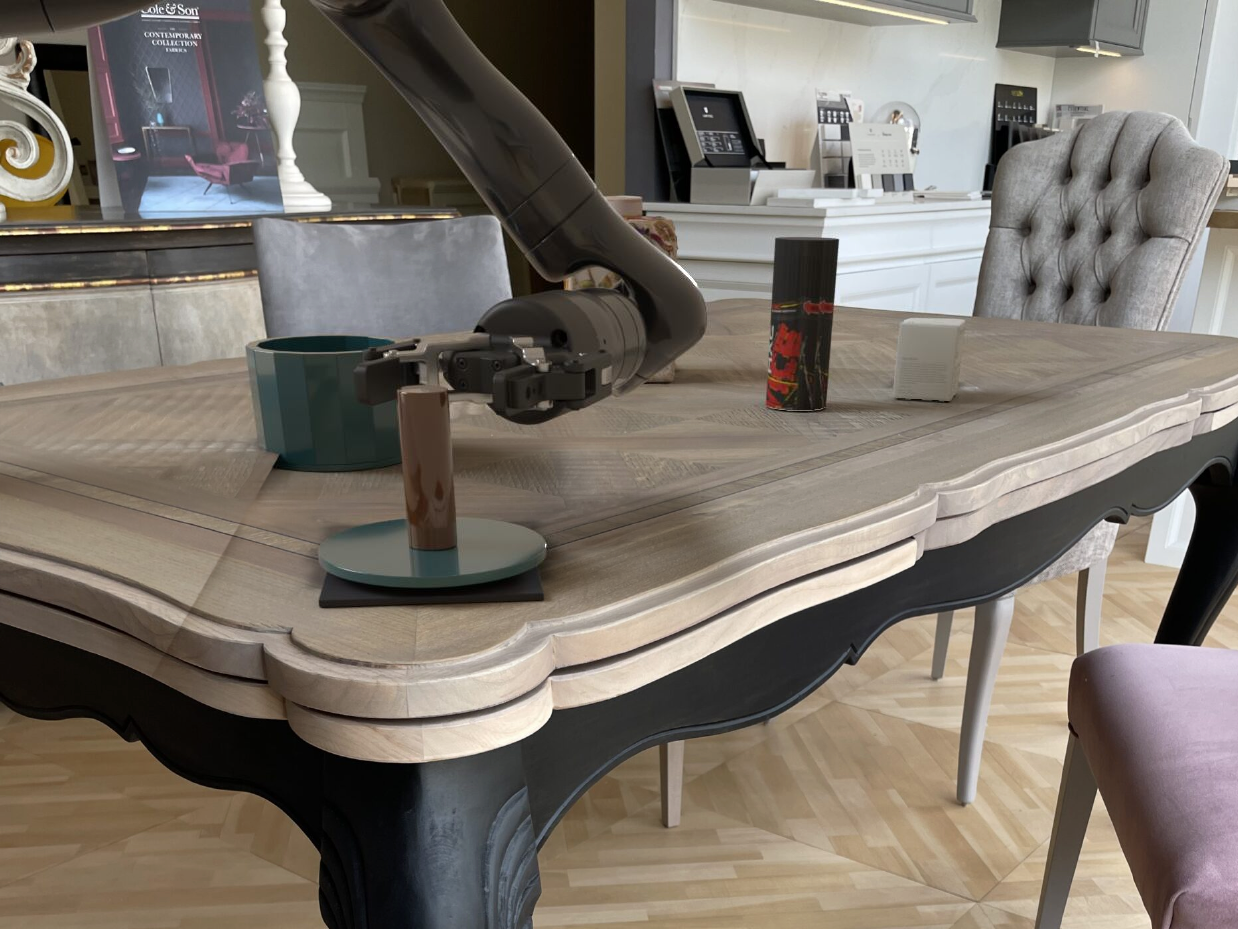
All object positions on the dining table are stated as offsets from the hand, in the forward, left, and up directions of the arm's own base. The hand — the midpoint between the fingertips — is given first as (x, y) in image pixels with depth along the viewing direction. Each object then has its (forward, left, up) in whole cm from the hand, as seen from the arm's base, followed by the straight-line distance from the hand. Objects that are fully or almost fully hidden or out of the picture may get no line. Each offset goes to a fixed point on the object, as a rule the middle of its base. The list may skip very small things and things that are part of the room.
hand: (429, 391), depth 68 cm
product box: (+50, +58, -10) cm, 77 cm away
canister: (-8, +33, -10) cm, 36 cm away
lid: (0, -1, -9) cm, 9 cm away
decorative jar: (+20, +75, -10) cm, 78 cm away
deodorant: (+35, +53, -10) cm, 64 cm away
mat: (0, -1, -10) cm, 10 cm away
